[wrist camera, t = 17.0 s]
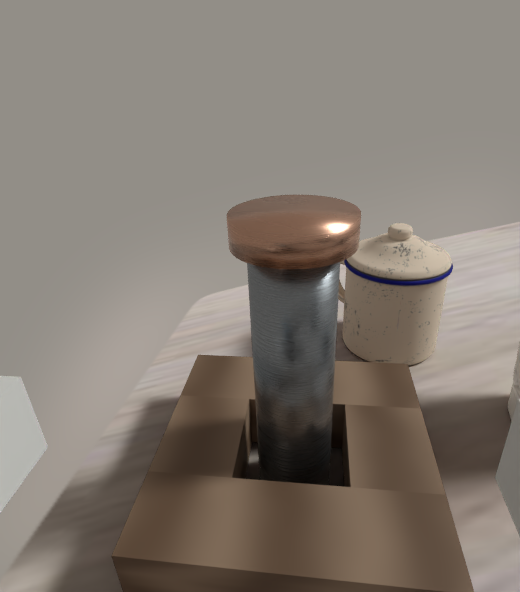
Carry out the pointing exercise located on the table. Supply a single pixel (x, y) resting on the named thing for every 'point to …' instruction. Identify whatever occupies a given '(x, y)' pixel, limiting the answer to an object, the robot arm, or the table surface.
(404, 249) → the teacup with lid
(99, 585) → the table surface
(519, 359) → the white cup
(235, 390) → the socket block
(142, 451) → the table surface
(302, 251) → the metal pin
